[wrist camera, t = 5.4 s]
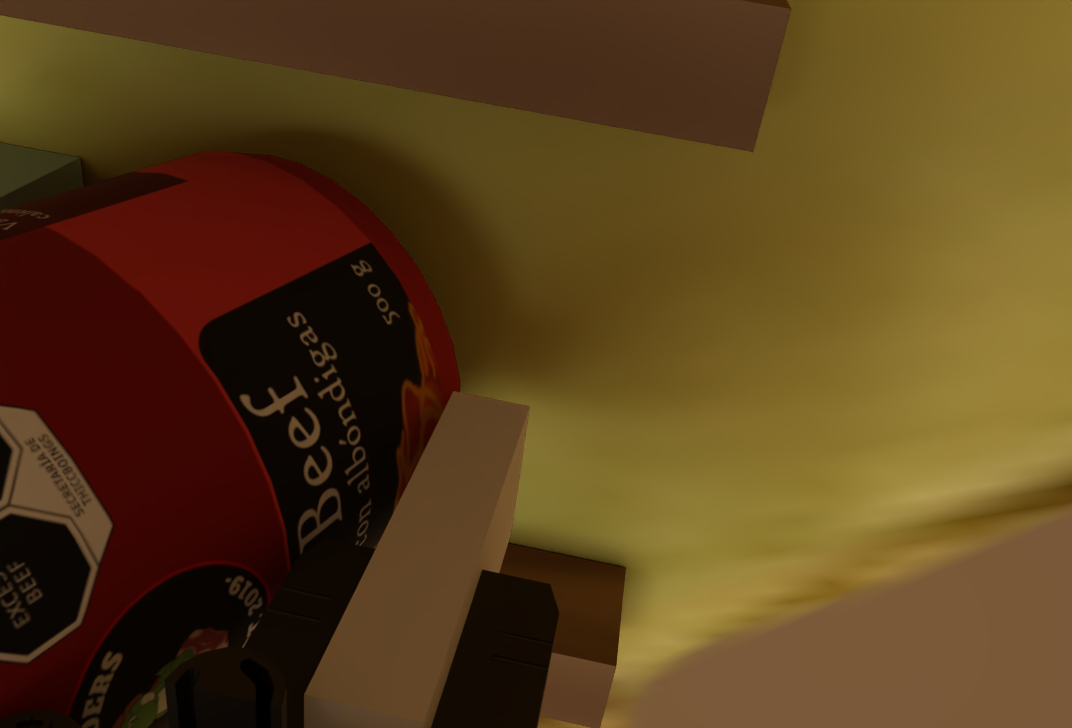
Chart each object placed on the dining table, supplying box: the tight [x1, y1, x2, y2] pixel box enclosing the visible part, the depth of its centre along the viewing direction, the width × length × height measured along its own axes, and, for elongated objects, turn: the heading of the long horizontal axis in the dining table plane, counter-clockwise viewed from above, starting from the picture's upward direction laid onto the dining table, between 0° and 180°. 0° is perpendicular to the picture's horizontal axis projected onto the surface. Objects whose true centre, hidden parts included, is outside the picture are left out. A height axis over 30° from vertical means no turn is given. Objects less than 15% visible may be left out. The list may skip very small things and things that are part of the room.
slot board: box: [0, 0, 791, 728], centre depth 18 cm, size 15×14×3 cm
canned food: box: [0, 152, 460, 728], centre depth 14 cm, size 8×8×11 cm
